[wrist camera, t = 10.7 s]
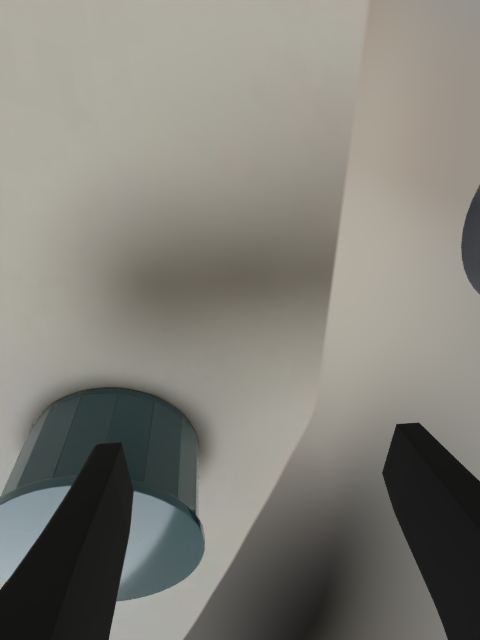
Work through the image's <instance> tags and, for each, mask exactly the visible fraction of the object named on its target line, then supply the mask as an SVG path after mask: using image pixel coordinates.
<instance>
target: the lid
mask: <svg viewBox="0 0 480 640" xmlns="http://www.w3.org/2000/svg"><path fill="white" fill-rule="evenodd" d="M77 476H78V475H76V476H64V477H55V478H50V479H45V480H40V481H37V482H33V483H30V484H27V485H24V486H22V487H19V488H17V489H15V490H12V491H11V492H9V493H7V494H5V495H4V496H2V497H1V498H0V578H1V579H2V580H4V581H5V582H7V580H8V579H9V578H10V576H11V575H12V574H13V572H14V571H15V570H16V568H17V567H18V565H19V564H20V562H21V561H22V560H23V558H24V557H25V555H26V554H27V553H28V551H29V550H30V548H31V547H32V546H33V544H34V543H35V541H36V540H37V539H38V537H39V536H40V534H41V533H42V531H43V530H44V528H45V527H46V525H47V524H48V522H49V521H50V519H51V517H52V516H53V514H54V513H55V511H56V510H57V508H58V507H59V505H60V504H61V502H62V500H63V499H64V497H65V496H66V494H67V492H68V491H69V489H70V488H71V486H72V484H73V483H74V481H75V479H76V478H77ZM131 482H132V486H133V490H134V493H133V505H132V516H131V526H130V534H129V539H128V545H127V550H126V555H125V560H124V565H123V570H122V575H121V580H120V585H119V590H118V595H117V599H116V601H124V600H130V599H136V598H140V597H144V596H148V595H152V594H155V593H158V592H161V591H163V590H165V589H168V588H170V587H172V586H174V585H176V584H177V583H179V582H181V581H182V580H184V579H185V578H186V577H188V576H189V575H190V574H191V573H192V572H193V571H194V570H195V569H196V567H197V566H198V565H199V563H200V561H201V559H202V557H203V553H204V545H205V535H204V530H203V526H202V524H201V522H200V520H199V518H198V517H197V516H196V514H195V513H194V512H193V511H192V510H191V509H190V508H189V507H188V506H187V505H186V504H185V503H184V502H182V501H181V500H179V499H178V498H176V497H175V496H173V495H171V494H169V493H167V492H166V491H163V490H161V489H158V488H156V487H154V486H151V485H148V484H144V483H141V482H138V481H133V480H131Z"/></svg>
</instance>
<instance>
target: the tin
mask: <svg viewBox="0 0 480 640" xmlns="http://www.w3.org/2000/svg"><path fill="white" fill-rule="evenodd" d="M119 442H122V446H123V450H124V454H125V458H126V462H127V466H128V470H129V474H130V478H131V480H133V481H138V482H141V483H144V484H148V485H151V486H154V487H156V488H158V489H161V490H163V491H166V492H167V493H169V494H171V495H173V496H175V497H176V498H178V499H179V500H181V501H182V502H184V503H185V504H186V505H187V506H188V507H189V508H190V509H191V510H192V511H193V512H194V513H195V514H196V516H197V517H198V518H199V453H198V439H197V435H196V433H195V430H194V428H193V426H192V425H191V423H190V421H189V420H188V419H187V418H186V417H185V416H184V415H183V414H182V413H181V412H180V411H179V410H178V409H176V408H175V407H173V406H172V405H171V404H169V403H167V402H165V401H163V400H161V399H160V398H157V397H154V396H152V395H149V394H146V393H142V392H139V391H134V390H128V389H119V388H100V389H90V390H86V391H81V392H77V393H74V394H71V395H68V396H66V397H64V398H62V399H60V400H58V401H57V402H55V403H53V404H52V405H50V406H49V407H48V408H47V409H46V410H45V411H44V412H43V413H42V414H41V415H40V417H39V418H38V420H37V422H36V423H35V424H34V425H33V426H32V428H31V430H30V433H29V435H28V437H27V439H26V441H25V444H24V446H23V448H22V450H21V452H20V455H19V457H18V459H17V461H16V463H15V466H14V468H13V470H12V472H11V474H10V477H9V479H8V481H7V483H6V485H5V488H4V490H3V492H2V494H1V496H0V498H1V497H2V496H4V495H5V494H7V493H9V492H11V491H12V490H15V489H17V488H19V487H22V486H24V485H27V484H30V483H33V482H37V481H40V480H45V479H50V478H55V477H64V476H76V475H78V474H79V472H80V471H81V469H82V467H83V466H84V464H85V462H86V460H87V458H88V457H89V455H90V453H91V451H92V449H93V448H94V447H95V446H96V445H97V444H104V443H119Z"/></svg>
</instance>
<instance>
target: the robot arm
mask: <svg viewBox="0 0 480 640" xmlns="http://www.w3.org/2000/svg"><path fill="white" fill-rule="evenodd" d="M382 474H383V477H384V481H385V484H386V487H387V490H388V494H389V497H390V500H391V503H392V506H393V509H394V512H395V514H396V517H397V519H398V522H399V524H400V526H401V528H402V531H403V533H404V536H405V538H406V540H407V542H408V545H409V547H410V549H411V551H412V553H413V556H414V558H415V560H416V563H417V565H418V567H419V569H420V572H421V574H422V576H423V578H424V581H425V583H426V585H427V587H428V590H429V592H430V594H431V597H432V599H433V601H434V604H435V606H436V608H437V611H438V614H439V616H440V618H441V621H442V624H443V627H444V629H445V632H446V635H447V638H448V640H480V481H479V480H478V479H477V478H475V476H473V475H472V474H471V473H470V472H469V471H468V470H467V469H466V468H465V467H464V466H463V465H462V464H461V463H460V462H459V461H458V460H457V459H456V458H454V456H453V455H451V453H449V452H448V451H447V450H446V449H445V448H444V447H443V446H442V445H441V444H440V443H439V442H438V441H437V440H436V439H435V438H434V437H433V436H432V435H431V434H430V433H429V432H428V431H427V430H426V429H425V428H424V427H423V426H422V425H421V424H420V423H407V424H397V425H396V428H395V431H394V435H393V438H392V441H391V445H390V448H389V452H388V455H387V458H386V462H385V465H384V469H383V472H382ZM133 493H134V490H133V486H132V482H131V478H130V474H129V470H128V466H127V462H126V458H125V454H124V450H123V446H122V442H119V443H104V444H97V445H96V446H95V447H94V448H93V449H92V451H91V453H90V455H89V457H88V458H87V460H86V462H85V464H84V466H83V467H82V469H81V471H80V472H79V474H78V476H77V478H76V479H75V481H74V483H73V484H72V486H71V488H70V489H69V491H68V492H67V494H66V496H65V497H64V499H63V500H62V502H61V504H60V505H59V507H58V508H57V510H56V511H55V513H54V514H53V516H52V517H51V519H50V521H49V522H48V524H47V525H46V527H45V528H44V530H43V531H42V533H41V534H40V536H39V537H38V539H37V540H36V541H35V543H34V544H33V546H32V547H31V548H30V550H29V551H28V553H27V554H26V555H25V557H24V558H23V560H22V561H21V562H20V564H19V565H18V567H17V568H16V570H15V571H14V572H13V574H12V575H11V576H10V578H9V579H8V580H7V582H6V583H5V584H4V586H3V587H2V588H1V590H0V640H109V635H110V629H111V624H112V619H113V614H114V609H115V604H116V599H117V595H118V590H119V585H120V580H121V575H122V570H123V565H124V560H125V555H126V550H127V545H128V539H129V534H130V526H131V516H132V505H133Z"/></svg>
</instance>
